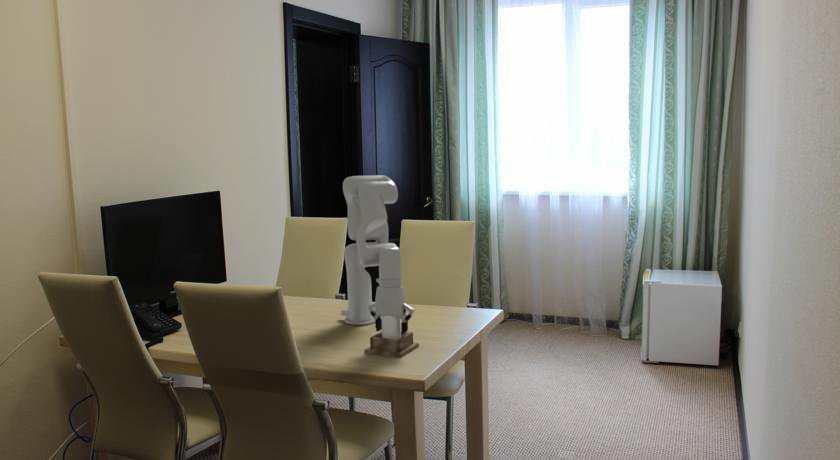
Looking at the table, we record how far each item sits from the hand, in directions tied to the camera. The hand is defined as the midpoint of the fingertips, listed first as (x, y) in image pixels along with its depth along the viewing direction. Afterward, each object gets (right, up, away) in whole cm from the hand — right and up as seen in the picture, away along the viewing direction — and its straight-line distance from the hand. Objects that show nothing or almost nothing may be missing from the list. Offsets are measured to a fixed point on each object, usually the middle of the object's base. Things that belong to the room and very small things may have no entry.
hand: (391, 331), depth 255 cm
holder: (0, -6, +1) cm, 6 cm away
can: (0, -5, +1) cm, 5 cm away
